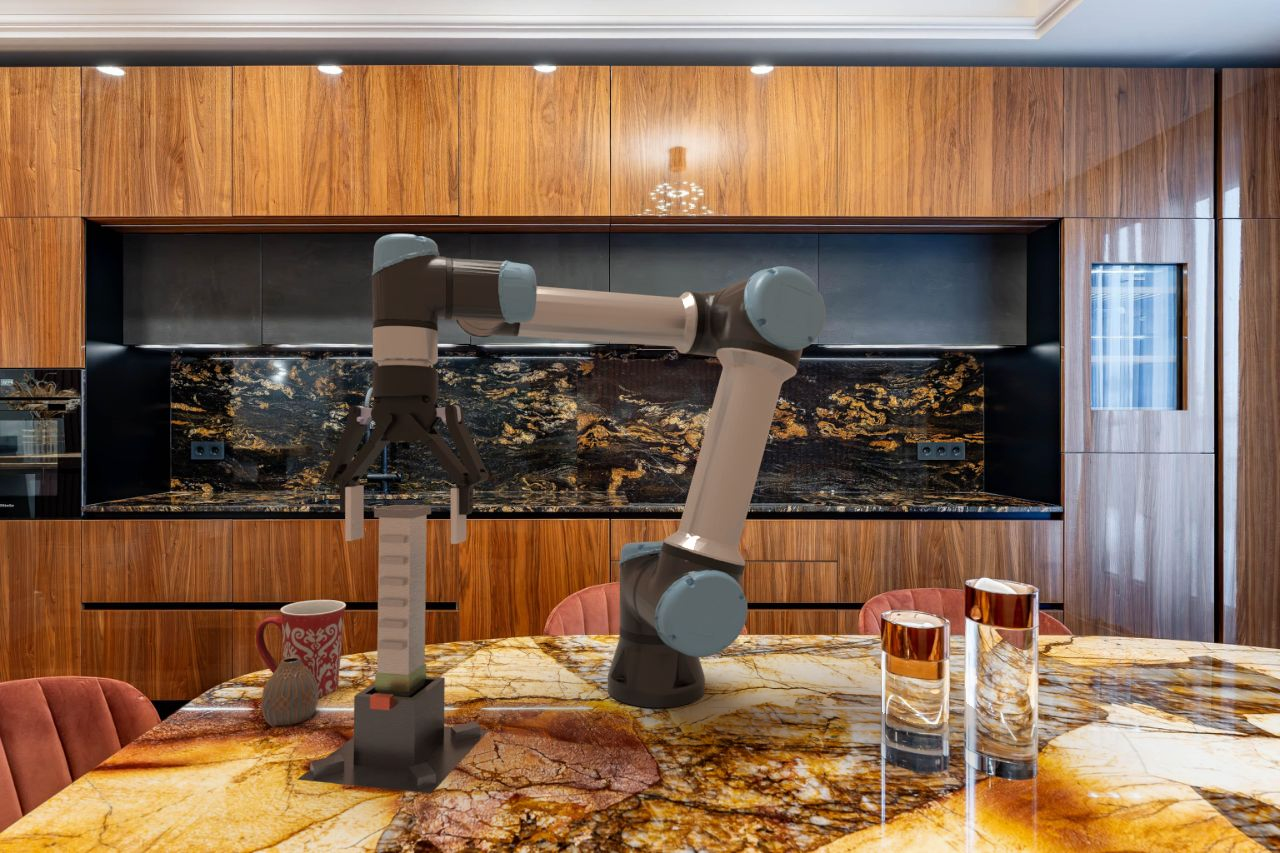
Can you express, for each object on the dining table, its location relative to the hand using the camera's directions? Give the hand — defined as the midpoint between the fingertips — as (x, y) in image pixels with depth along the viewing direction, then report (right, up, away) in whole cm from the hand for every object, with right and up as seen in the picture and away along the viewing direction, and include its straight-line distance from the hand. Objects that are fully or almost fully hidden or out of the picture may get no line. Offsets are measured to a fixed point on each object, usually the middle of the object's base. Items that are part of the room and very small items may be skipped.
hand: (405, 541), depth 84 cm
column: (-1, -18, 0) cm, 18 cm away
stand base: (-1, -27, 0) cm, 27 cm away
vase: (-19, -27, +10) cm, 34 cm away
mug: (-23, -27, +20) cm, 40 cm away
